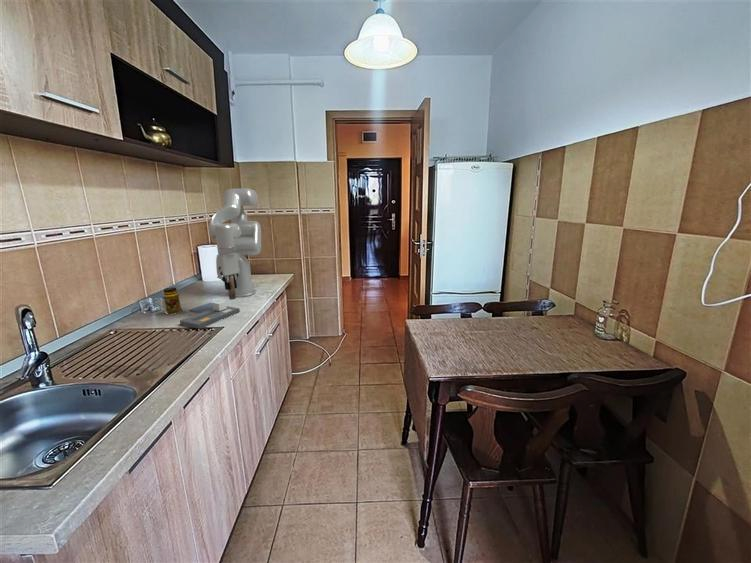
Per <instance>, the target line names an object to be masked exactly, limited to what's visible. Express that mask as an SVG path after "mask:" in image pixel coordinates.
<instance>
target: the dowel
mask: <svg viewBox="0 0 751 563" xmlns="http://www.w3.org/2000/svg"><path fill="white" fill-rule="evenodd" d="M229 282H230V285H231V290H227V291H228V293H227V294H228V298H229V300H230V301H231V300H236V299H237V297H236V295H235V287H234V278H233V274H232V275H229Z"/></svg>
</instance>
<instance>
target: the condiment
mask: <svg viewBox="0 0 751 563" xmlns="http://www.w3.org/2000/svg"><path fill="white" fill-rule="evenodd" d="M179 295H180V294H179V293H178V290H177V287H174V286H173V287H172V286H171V287H166V288H164V289H163V299H164V304H165V309H166V310H165V311H167V313H168V314H174V315H176V314H175V313H178V314H180V313H179V312H181V310H183V312H181V313H184V312H185V310H184V309H182V306H181V301H180V296H179Z"/></svg>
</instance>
